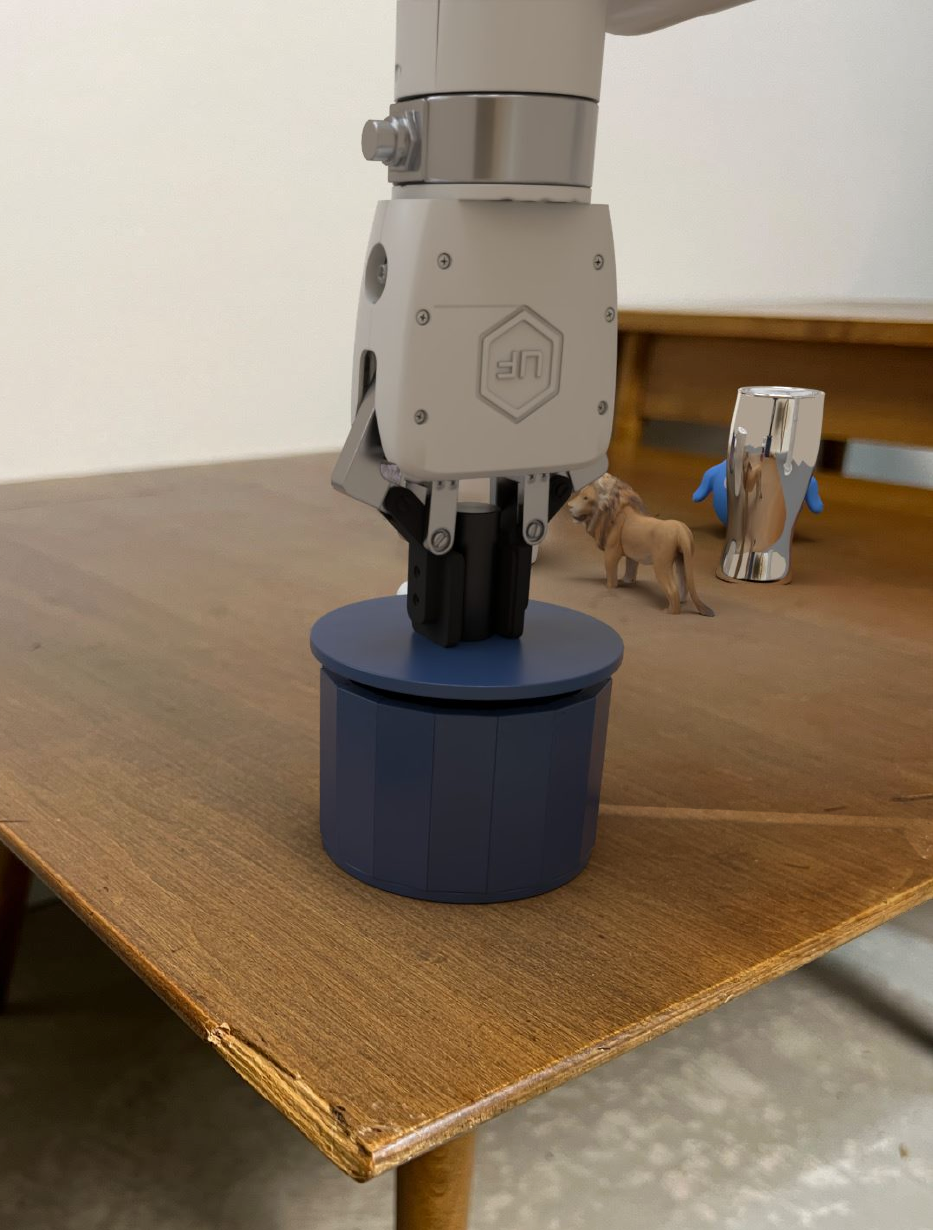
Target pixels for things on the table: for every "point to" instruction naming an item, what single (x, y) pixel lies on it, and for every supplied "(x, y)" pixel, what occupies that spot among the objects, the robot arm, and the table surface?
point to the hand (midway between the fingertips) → (466, 630)
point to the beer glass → (768, 480)
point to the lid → (469, 636)
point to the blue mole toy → (717, 484)
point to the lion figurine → (637, 539)
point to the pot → (460, 789)
